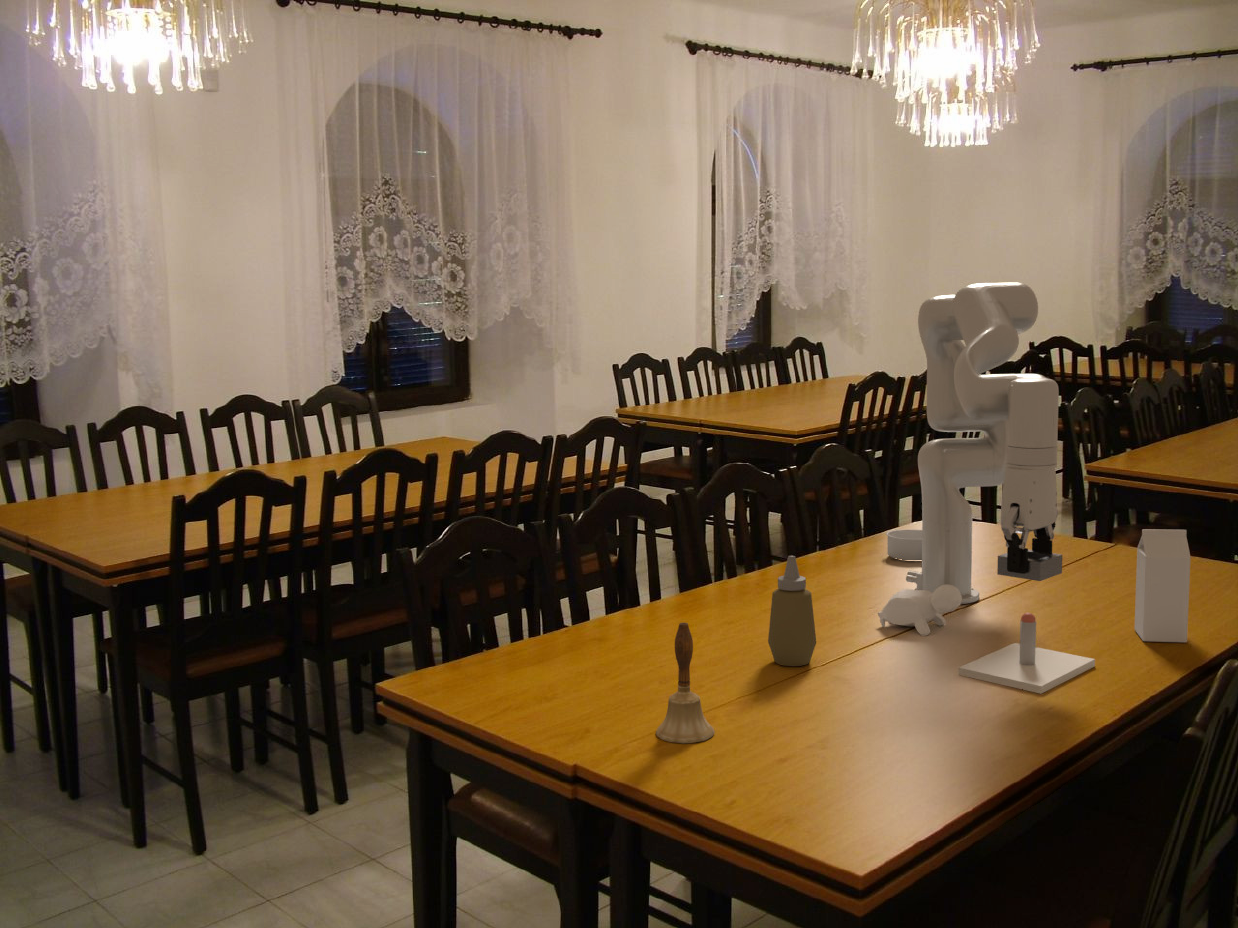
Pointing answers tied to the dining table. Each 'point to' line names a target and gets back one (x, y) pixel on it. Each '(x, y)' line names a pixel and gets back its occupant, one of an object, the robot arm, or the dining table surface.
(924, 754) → the dining table surface
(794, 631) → the squeeze bottle
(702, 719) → the hand bell
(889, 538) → the saucepan
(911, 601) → the white turtle figurine
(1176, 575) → the milk carton
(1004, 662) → the white peg stand
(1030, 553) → the grey square socket block
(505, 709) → the dining table surface
